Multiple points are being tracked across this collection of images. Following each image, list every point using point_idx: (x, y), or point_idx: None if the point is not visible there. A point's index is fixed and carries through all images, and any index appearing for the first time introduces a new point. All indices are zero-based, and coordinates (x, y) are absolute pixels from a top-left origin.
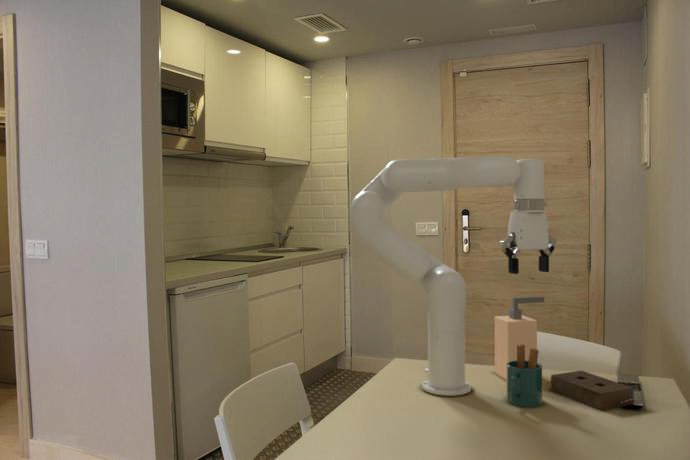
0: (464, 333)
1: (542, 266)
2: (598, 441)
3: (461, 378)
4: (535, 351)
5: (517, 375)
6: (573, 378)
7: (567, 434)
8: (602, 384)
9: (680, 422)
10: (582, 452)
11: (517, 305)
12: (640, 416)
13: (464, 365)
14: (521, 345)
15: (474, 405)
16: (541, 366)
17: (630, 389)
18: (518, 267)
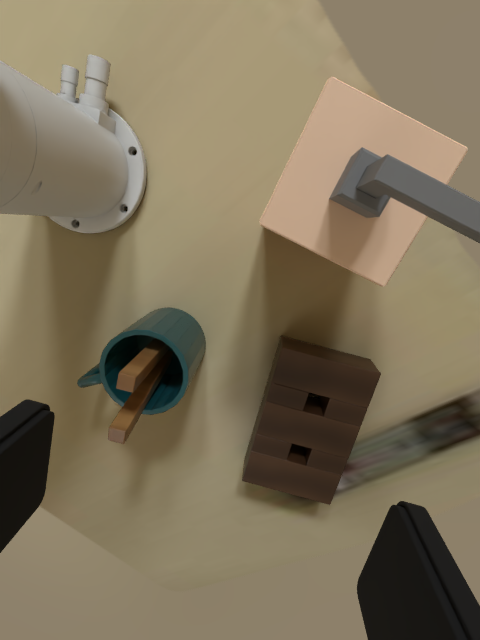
0: (20, 200)
1: (388, 590)
2: (116, 513)
3: (80, 216)
4: (114, 440)
5: (101, 382)
6: (297, 396)
7: (100, 474)
8: (309, 453)
9: (294, 557)
10: (64, 516)
11: (377, 194)
12: (271, 510)
13: (82, 208)
14: (120, 388)
15: (66, 293)
16: (166, 409)
17: (321, 501)
18: (2, 547)
